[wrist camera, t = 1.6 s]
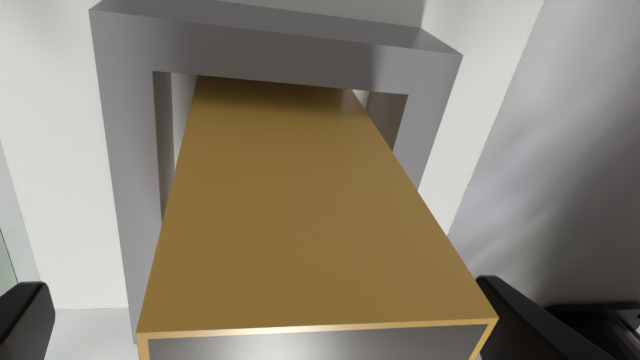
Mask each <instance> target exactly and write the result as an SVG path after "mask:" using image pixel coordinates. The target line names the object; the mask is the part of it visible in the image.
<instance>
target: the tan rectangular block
mask: <svg viewBox="0 0 640 360" xmlns="http://www.w3.org/2000/svg"><path fill="white" fill-rule="evenodd" d="M498 319H499V317H498V315H497V313H496V312H495V310H494V309H493V307H492V306H491V304H490V303H489V301H488V300H487V298H486V296H485V295H484V293H483V292H482V290H481V289H480V287H479V286H478V284H477V282H476V281H475V279H474V278H473V276H472V275H471V273H470V272H469V270H468V269H467V267H466V265H465V264H464V262H463V261H462V259H461V258H460V256H459V255H458V253H457V251H456V250H455V248H454V247H453V245H452V244H451V242H450V241H449V239H448V238H447V236H446V234H445V233H444V231H443V230H442V228H441V227H440V225H439V224H438V222H437V220H436V219H435V217H434V216H433V214H432V213H431V211H430V210H429V208H428V207H427V205H426V203H425V202H424V200H423V199H422V197H421V196H420V194H419V193H418V191H417V189H416V188H415V186H414V185H413V183H412V182H411V180H410V179H409V177H408V176H407V174H406V172H405V171H404V169H403V168H402V166H401V165H400V163H399V162H398V160H397V158H396V157H395V155H394V154H393V152H392V151H391V149H390V148H389V146H388V145H387V143H386V141H385V140H384V138H383V137H382V135H381V134H380V132H379V131H378V129H377V127H376V126H375V124H374V123H373V121H372V120H371V118H370V117H369V115H368V114H367V112H366V110H365V109H364V107H363V106H362V104H361V103H360V101H359V100H358V98H357V96H356V95H355V93H354V92H353V90H352V89H342V88H332V87H321V86H310V85H300V84H289V83H278V82H268V81H257V80H246V79H235V78H225V77H214V76H203V75H198V77H197V81H196V85H195V89H194V93H193V98H192V102H191V106H190V110H189V114H188V118H187V122H186V127H185V131H184V135H183V139H182V143H181V147H180V151H179V156H178V160H177V164H176V168H175V172H174V176H173V180H172V185H171V189H170V193H169V197H168V201H167V205H166V209H165V214H164V218H163V222H162V226H161V230H160V234H159V238H158V243H157V247H156V251H155V255H154V259H153V263H152V267H151V272H150V276H149V280H148V284H147V288H146V292H145V297H144V301H143V305H142V309H141V313H140V317H139V321H138V326H137V330H136V340H137V347H138V355H139V360H475V359H476V357H477V356H478V354H479V352H480V350H481V349H482V347H483V345H484V343H485V342H486V340H487V338H488V337H489V335H490V333H491V331H492V330H493V328H494V326H495V325H496V323H497V321H498Z"/></svg>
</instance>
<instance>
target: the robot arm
mask: <svg viewBox="0 0 640 360" xmlns="http://www.w3.org/2000/svg"><path fill="white" fill-rule="evenodd" d="M475 281H476V282H477V284H478V286H479V287H480V289H481V290H482V292H483V293H484V295H485V296H486V298H487V300H488V301H489V303H490V304H491V306H492V307H493V309H494V310H495V312H496V313H497V315H498V317H499V319H498V321H497V323H496V325H495V326H494V328H493V330H492V331H491V333H490V335H489V337H488V338H487V340H486V342H485V343H484V345H483V347H482V349H481V350H480V355H481V358H482V360H640V334H639V333H638V332H637V331H636V329H637V328H638V327H639V326H640V303H625V304H597V305H569V306H552V307H549V308H547V309H545V310H544V309H543V308H542V307H540V306H539V305H537V304H536V303H534V302H533V301H532V300H530V299H529V298H527V297H526V296H524V295H523V294H522V293H520V292H519V291H517V290H516V289H514V288H513V287H512V286H510V285H509V284H507V283H506V282H505V281H503V280H502V279H500V278H499V277H497V276H494V275H480V276H478V277H477V278H476V279H475ZM54 322H55V308H54V305H53V301H52V298H51V294H50V290H49V287H48V285H47V284H46V283H45V282H42V281H34V282H20V283H18V284H16V285H15V286H13V287H12V288H11V289H9V290H8V291H7V292H5V293H4V294H3V295H1V296H0V360H44V357H45V354H46V350H47V347H48V343H49V340H50V336H51V333H52V330H53V326H54Z"/></svg>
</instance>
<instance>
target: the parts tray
mask: <svg viewBox="0 0 640 360" xmlns="http://www.w3.org/2000/svg"><path fill="white" fill-rule="evenodd" d="M16 284H18V283H17V280H16V277H15V274H14V271H13V268H12V265H11V262H10V259H9V255H8V252H7V249H6V246H5V243H4V240H3V237H2V234H1V231H0V296H1V295H3V294H4V293H5V292H7V291H8V290H9V289H11V288H12V287H13V286H15V285H16Z"/></svg>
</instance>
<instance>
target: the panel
mask: <svg viewBox="0 0 640 360" xmlns="http://www.w3.org/2000/svg"><path fill="white" fill-rule="evenodd" d="M543 2H544V0H0V139H1V143H2V146H3V150H4V153H5V157H6V160H7V164H8V167H9V171H10V174H11V178H12V181H13V185H14V188H15V192H16V195H17V199H18V202H19V206H20V209H21V212H22V216H23V219H24V223H25V226H26V230H27V233H28V237H29V240H30V244H31V247H32V251H33V254H34V258H35V261H36V265H37V268H38V272H39V275H40V279H41V281H42V282H45V283H46V284H47V285H48V287H49V290H50V294H51V298H52V301H53V305H54V308H55V309H83V308H118V307H129V314H130V321H131V328H132V336H133V343H134V344H137V340H136V330H137V326H138V321H139V317H140V313H141V309H142V305H143V301H144V297H145V292H146V288H147V284H148V280H149V276H150V272H151V267H152V263H153V259H154V255H155V251H156V247H157V243H158V238H159V234H160V230H161V226H162V222H163V218H164V214H165V209H166V205H167V201H168V197H169V193H170V189H171V185H172V180H173V176H174V172H175V168H176V164H177V160H178V156H179V151H180V147H181V143H182V139H183V135H184V131H185V127H186V122H187V118H188V114H189V110H190V106H191V102H192V98H193V93H194V89H195V85H196V81H197V77H198V75H203V76H214V77H225V78H235V79H246V80H257V81H268V82H278V83H289V84H300V85H310V86H321V87H332V88H342V89H352V90H353V92H354V93H355V95H356V96H357V98H358V100H359V101H360V103H361V104H362V106H363V107H364V109H365V110H366V112H367V114H368V115H369V117H370V118H371V120H372V121H373V123H374V124H375V126H376V127H377V129H378V131H379V132H380V134H381V135H382V137H383V138H384V140H385V141H386V143H387V145H388V146H389V148H390V149H391V151H392V152H393V154H394V155H395V157H396V158H397V160H398V162H399V163H400V165H401V166H402V168H403V169H404V171H405V172H406V174H407V176H408V177H409V179H410V180H411V182H412V183H413V185H414V186H415V188H416V189H417V191H418V193H419V194H420V196H421V197H422V199H423V200H424V202H425V203H426V205H427V207H428V208H429V210H430V211H431V213H432V214H433V216H434V217H435V219H436V220H437V222H438V224H439V225H440V227H441V228H442V230H443V231H444V233H445V234H446V236H447V234H448V232H449V229H450V227H451V225H452V222H453V220H454V217H455V215H456V212H457V210H458V208H459V205H460V203H461V200H462V198H463V195H464V193H465V191H466V188H467V186H468V183H469V181H470V179H471V176H472V174H473V171H474V169H475V166H476V164H477V162H478V159H479V157H480V154H481V152H482V149H483V147H484V145H485V142H486V140H487V137H488V135H489V133H490V130H491V128H492V125H493V123H494V120H495V118H496V116H497V113H498V111H499V108H500V106H501V104H502V101H503V99H504V96H505V94H506V91H507V89H508V87H509V84H510V82H511V79H512V77H513V74H514V72H515V70H516V67H517V65H518V62H519V60H520V58H521V55H522V53H523V50H524V48H525V45H526V43H527V41H528V38H529V36H530V33H531V31H532V29H533V26H534V24H535V21H536V19H537V16H538V14H539V12H540V9H541V7H542V4H543Z"/></svg>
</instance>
